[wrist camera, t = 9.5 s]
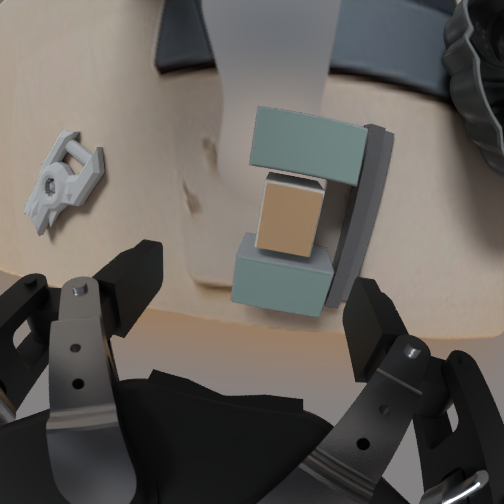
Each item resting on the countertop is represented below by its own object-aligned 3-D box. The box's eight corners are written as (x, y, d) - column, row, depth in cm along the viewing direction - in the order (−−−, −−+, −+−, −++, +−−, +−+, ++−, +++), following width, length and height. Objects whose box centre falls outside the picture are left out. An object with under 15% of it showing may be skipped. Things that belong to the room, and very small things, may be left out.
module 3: (246, 232, 30) (235, 256, 24) (326, 247, 29) (334, 274, 24) (240, 272, 32) (229, 303, 26) (315, 286, 32) (320, 319, 26)
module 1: (264, 113, 25) (257, 105, 19) (351, 131, 24) (369, 128, 18) (256, 160, 27) (248, 165, 21) (342, 177, 26) (358, 187, 20)
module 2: (269, 171, 27) (264, 180, 21) (317, 181, 27) (326, 192, 21) (260, 226, 30) (253, 249, 24) (305, 234, 29) (310, 259, 23)
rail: (364, 125, 24) (371, 123, 21) (392, 133, 24) (401, 133, 21) (323, 294, 32) (325, 306, 30) (347, 298, 32) (351, 310, 29)
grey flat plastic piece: (47, 256, 32) (15, 210, 30) (60, 248, 35) (29, 205, 33) (102, 161, 26) (63, 112, 24) (118, 159, 29) (79, 114, 27)
